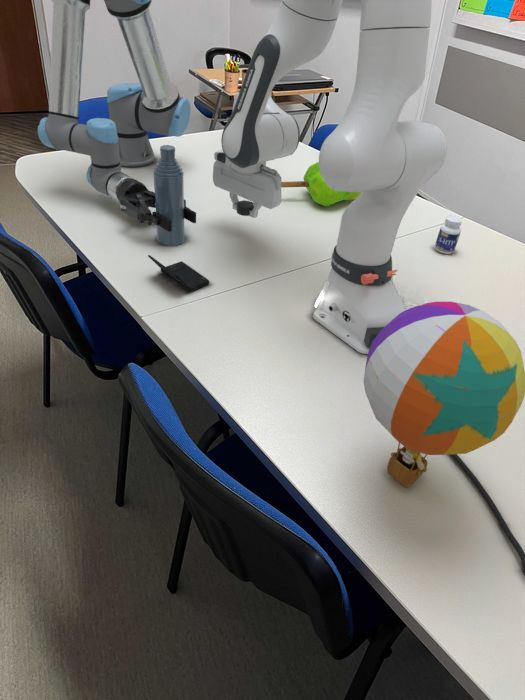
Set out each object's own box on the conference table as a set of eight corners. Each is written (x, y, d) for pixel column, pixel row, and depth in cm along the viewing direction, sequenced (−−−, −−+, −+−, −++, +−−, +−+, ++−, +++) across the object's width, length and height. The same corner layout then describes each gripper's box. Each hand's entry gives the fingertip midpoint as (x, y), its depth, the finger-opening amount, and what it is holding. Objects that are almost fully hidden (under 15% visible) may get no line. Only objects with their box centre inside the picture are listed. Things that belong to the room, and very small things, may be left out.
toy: (312, 466, 79) (346, 302, 61) (391, 411, 90) (442, 257, 71) (417, 561, 68) (499, 397, 50) (493, 486, 79) (584, 327, 60)
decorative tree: (264, 157, 158) (357, 156, 164) (262, 191, 165) (352, 188, 170) (276, 178, 145) (377, 176, 150) (274, 214, 151) (371, 210, 156)
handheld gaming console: (215, 273, 118) (192, 250, 110) (200, 300, 117) (175, 279, 109) (180, 262, 124) (156, 239, 116) (165, 287, 123) (139, 266, 115)
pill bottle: (433, 251, 139) (442, 220, 133) (435, 243, 143) (444, 213, 137) (453, 256, 138) (464, 225, 132) (454, 247, 142) (465, 217, 136)
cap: (234, 209, 136) (234, 201, 135) (250, 207, 137) (251, 200, 136) (239, 216, 133) (239, 208, 131) (256, 215, 134) (256, 207, 133)
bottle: (190, 240, 134) (189, 148, 119) (168, 248, 130) (164, 154, 115) (173, 230, 137) (170, 140, 123) (151, 238, 133) (145, 145, 119)
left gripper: (159, 196, 147) (213, 225, 135) (97, 214, 135) (150, 247, 123) (158, 170, 142) (213, 197, 130) (93, 186, 130) (148, 218, 119)
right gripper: (289, 169, 124) (283, 222, 132) (226, 145, 133) (224, 197, 142) (273, 175, 120) (268, 230, 128) (209, 151, 129) (208, 203, 138)
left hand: (182, 222), depth 127 cm, fingers closed on bottle, 7 cm apart
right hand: (244, 213), depth 135 cm, fingers closed on cap, 4 cm apart
